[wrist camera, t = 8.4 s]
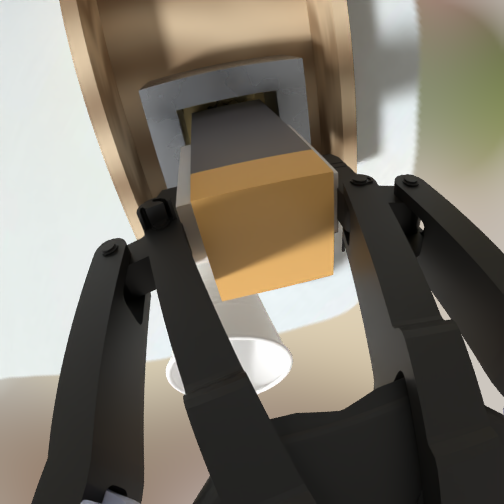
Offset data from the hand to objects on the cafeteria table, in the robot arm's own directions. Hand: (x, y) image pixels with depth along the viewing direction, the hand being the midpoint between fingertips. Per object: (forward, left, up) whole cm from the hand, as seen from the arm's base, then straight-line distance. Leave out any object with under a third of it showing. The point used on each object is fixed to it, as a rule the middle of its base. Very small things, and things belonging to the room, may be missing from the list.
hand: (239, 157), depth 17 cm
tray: (-5, 0, -7) cm, 9 cm away
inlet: (0, 0, -7) cm, 7 cm away
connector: (0, 0, -4) cm, 4 cm away
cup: (+15, -4, -7) cm, 17 cm away
